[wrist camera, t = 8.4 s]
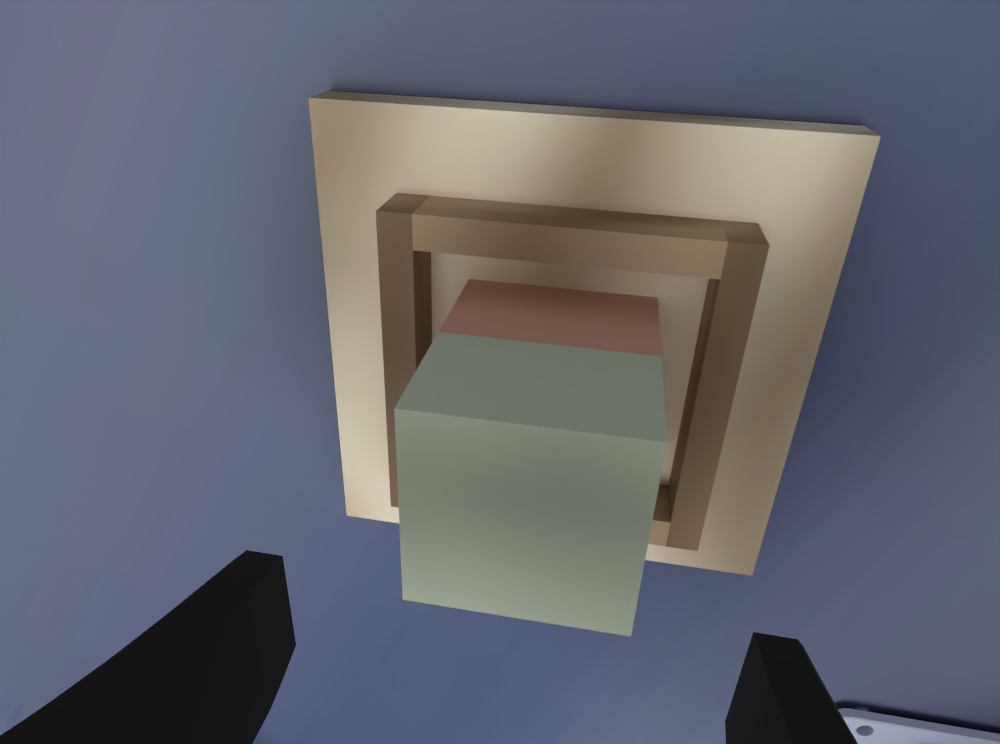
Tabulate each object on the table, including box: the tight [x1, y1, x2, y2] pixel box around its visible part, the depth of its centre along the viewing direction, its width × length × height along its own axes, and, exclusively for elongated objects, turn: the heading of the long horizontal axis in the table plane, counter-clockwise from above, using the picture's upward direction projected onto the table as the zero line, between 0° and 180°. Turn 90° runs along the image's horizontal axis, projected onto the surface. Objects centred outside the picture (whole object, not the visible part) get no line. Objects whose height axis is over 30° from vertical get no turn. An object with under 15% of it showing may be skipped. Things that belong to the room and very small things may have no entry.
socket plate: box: [309, 91, 881, 576], centre depth 17 cm, size 12×12×3 cm
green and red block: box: [394, 279, 667, 637], centre depth 15 cm, size 4×4×6 cm
